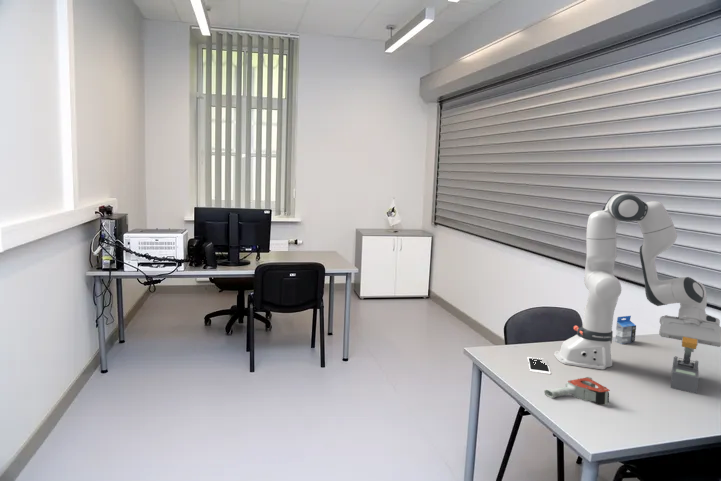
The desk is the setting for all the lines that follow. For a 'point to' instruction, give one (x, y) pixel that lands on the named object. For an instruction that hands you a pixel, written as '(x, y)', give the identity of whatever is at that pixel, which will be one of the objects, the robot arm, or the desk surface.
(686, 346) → the lever
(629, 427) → the desk surface
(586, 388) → the tape dispenser
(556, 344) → the desk surface
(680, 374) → the block
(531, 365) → the cell phone
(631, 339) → the label tape box
